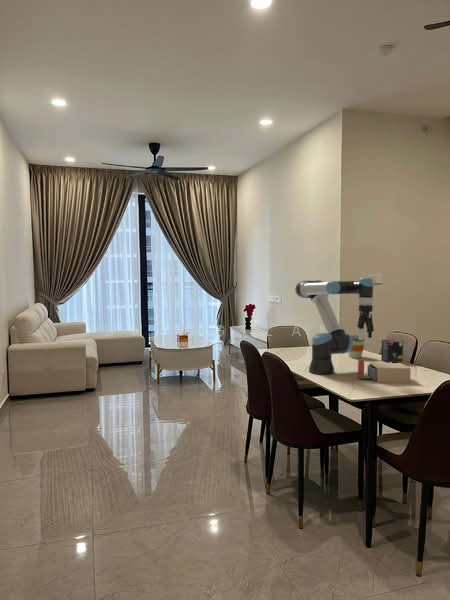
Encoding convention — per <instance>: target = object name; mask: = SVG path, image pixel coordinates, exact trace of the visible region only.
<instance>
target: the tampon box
mask: <svg viewBox="0 0 450 600" xmlns="http://www.w3.org/2000/svg"><path fill="white" fill-rule="evenodd" d="M403 351H404V341H402V340H398V339H381V357H380V359H381V361H382V362H384V363H388V362H389V363H391V362H398V363H403V355H404V354H403V353H404V352H403Z"/></svg>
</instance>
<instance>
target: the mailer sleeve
mask: <svg viewBox="0 0 450 600" xmlns="http://www.w3.org/2000/svg"><path fill="white" fill-rule="evenodd" d="M369 365H373V366H374V367H376V368H377V380H374V381H375V382H376V383H411V369H412V368H411V367H409V366H407V365H406V364H403V362H398V363H388V362H369Z"/></svg>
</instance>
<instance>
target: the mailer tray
mask: <svg viewBox="0 0 450 600" xmlns="http://www.w3.org/2000/svg"><path fill="white" fill-rule="evenodd" d="M357 363H358V364H357V378H358V379H371V380H373V381H375V380H377V368H376V367H374V366H373V365H370V364H367V372H366V373H367V375H365V360H364V359H358V360H357Z"/></svg>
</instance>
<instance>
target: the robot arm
mask: <svg viewBox="0 0 450 600" xmlns="http://www.w3.org/2000/svg"><path fill="white" fill-rule="evenodd" d="M294 290H295V294H296V295H297V296H298V297H300V298H301V299H310V300H311V302H312V303H313V304H315V306H316V309H317V311H318V314H319V316H320V318H321V320H322V322H323V325H324V328H325V330H326V331H327V332H322V333H317V334H316V333H315V335H313V336H312V340H311V361H310V363H309V366H308V367H309V368H308V371H309V373H311V374H314V375H332V374H334V373H335V368H334V364H333V362H332V361H333V360H332V355H340V354H342V355H344V354H346V353H347V354H348V352H350V351H351V349H352V347H353V339H352V337H351V336H352V335H351V334H348V333H346V331H345V329H344V328H341V326H340V323H339V321H338V319H337V317H336V314H335V313H334V310H333V308H332V306H331V304H330V301H329V299H328V298H329V295H345V294H346V295H353V294H354V295H358V304H359V305H358V311H359V316H358V320H357V325H356V327H357V328H358V336H359V340H364V341H365V336H364V334H365V332H364V330H365V327H366V345H367V344H372V343H373V332H374V324H373V313H372V312H373V302H374V299H373V298H374V297H373V296H374V279H373V278H372V277H360V278H359V280H344V281H343V280H330V281H323V280H302V281H299V282H298V283H297V284H296V285H295V289H294ZM371 313H372V314H371ZM364 326H365V327H364Z"/></svg>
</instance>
